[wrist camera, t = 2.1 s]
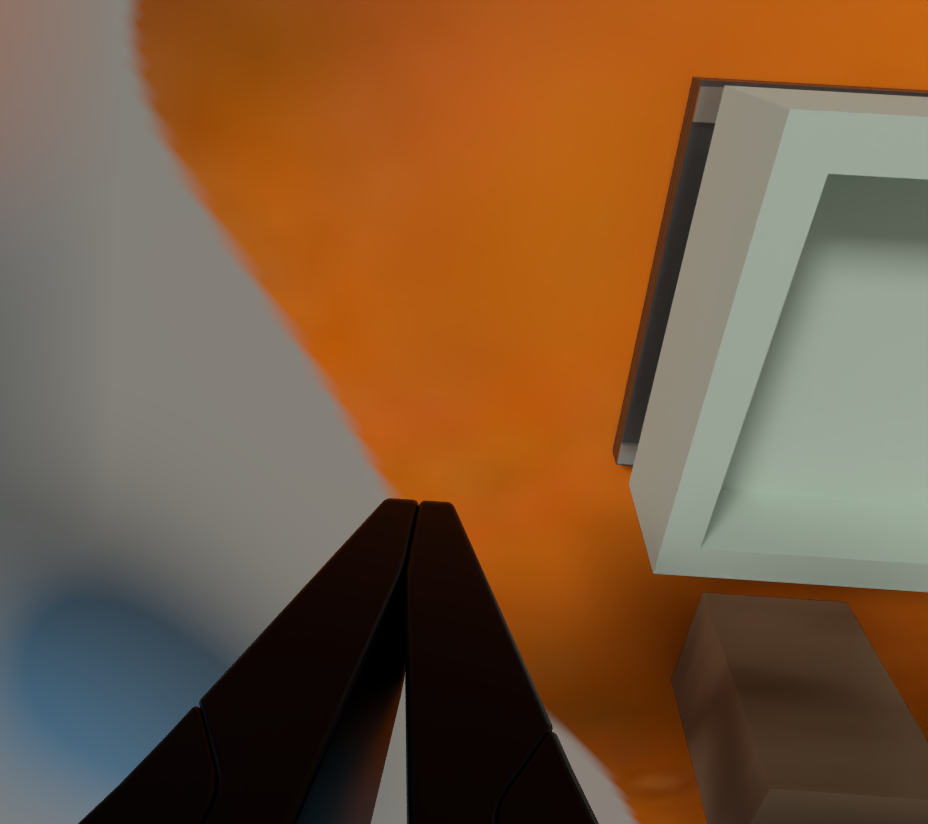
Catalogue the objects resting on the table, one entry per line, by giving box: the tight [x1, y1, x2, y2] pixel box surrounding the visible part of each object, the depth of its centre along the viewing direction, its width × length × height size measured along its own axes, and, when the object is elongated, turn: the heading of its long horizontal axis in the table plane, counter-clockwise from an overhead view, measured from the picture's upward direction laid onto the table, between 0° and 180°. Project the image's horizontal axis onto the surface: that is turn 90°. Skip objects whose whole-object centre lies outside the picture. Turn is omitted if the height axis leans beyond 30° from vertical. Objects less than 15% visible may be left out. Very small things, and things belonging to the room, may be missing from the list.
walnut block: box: [671, 592, 928, 824], centre depth 19 cm, size 4×4×6 cm
